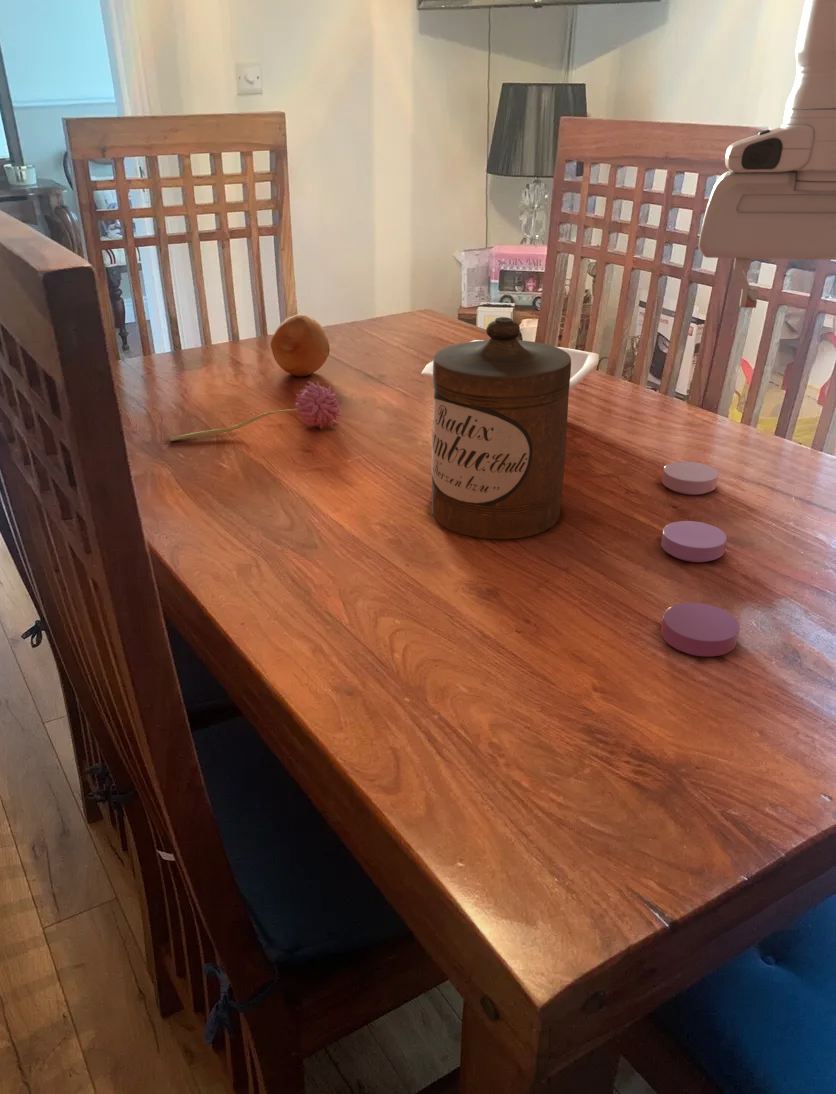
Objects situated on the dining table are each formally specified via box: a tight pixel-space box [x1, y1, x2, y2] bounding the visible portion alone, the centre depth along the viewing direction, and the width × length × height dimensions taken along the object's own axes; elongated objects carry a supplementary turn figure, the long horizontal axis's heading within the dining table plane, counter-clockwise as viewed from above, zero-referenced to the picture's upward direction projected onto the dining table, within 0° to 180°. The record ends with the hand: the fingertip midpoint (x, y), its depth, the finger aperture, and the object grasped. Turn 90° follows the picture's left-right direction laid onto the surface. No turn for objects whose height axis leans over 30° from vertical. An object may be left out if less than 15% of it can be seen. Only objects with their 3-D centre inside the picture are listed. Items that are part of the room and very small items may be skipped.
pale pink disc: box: [661, 460, 719, 496], centre depth 105 cm, size 6×6×2 cm
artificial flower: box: [169, 380, 343, 442], centre depth 123 cm, size 7×7×25 cm
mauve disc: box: [660, 602, 741, 657], centre depth 76 cm, size 6×6×2 cm
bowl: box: [420, 339, 600, 394], centre depth 125 cm, size 22×23×8 cm
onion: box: [270, 313, 331, 377], centre depth 147 cm, size 10×10×10 cm
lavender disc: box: [660, 520, 728, 563], centre depth 91 cm, size 6×6×2 cm
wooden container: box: [431, 316, 571, 540], centre depth 95 cm, size 15×15×22 cm
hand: (799, 308), depth 83 cm, fingers open, 8 cm apart
